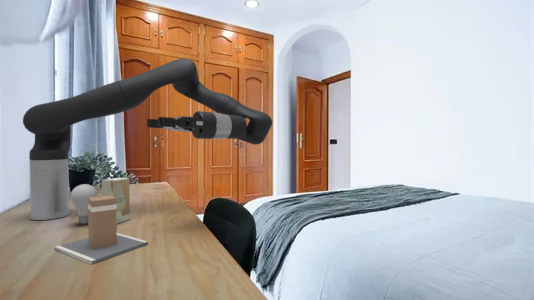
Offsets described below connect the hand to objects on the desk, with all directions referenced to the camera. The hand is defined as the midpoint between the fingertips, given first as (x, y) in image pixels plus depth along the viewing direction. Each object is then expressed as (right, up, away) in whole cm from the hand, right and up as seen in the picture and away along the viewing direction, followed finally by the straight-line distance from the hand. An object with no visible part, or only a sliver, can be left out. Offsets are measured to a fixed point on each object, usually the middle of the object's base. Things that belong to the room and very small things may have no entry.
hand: (152, 122), depth 69 cm
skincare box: (-15, -27, +11) cm, 33 cm away
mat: (-7, -28, -9) cm, 30 cm away
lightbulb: (-22, -27, +8) cm, 36 cm away
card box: (-7, -27, -9) cm, 29 cm away
